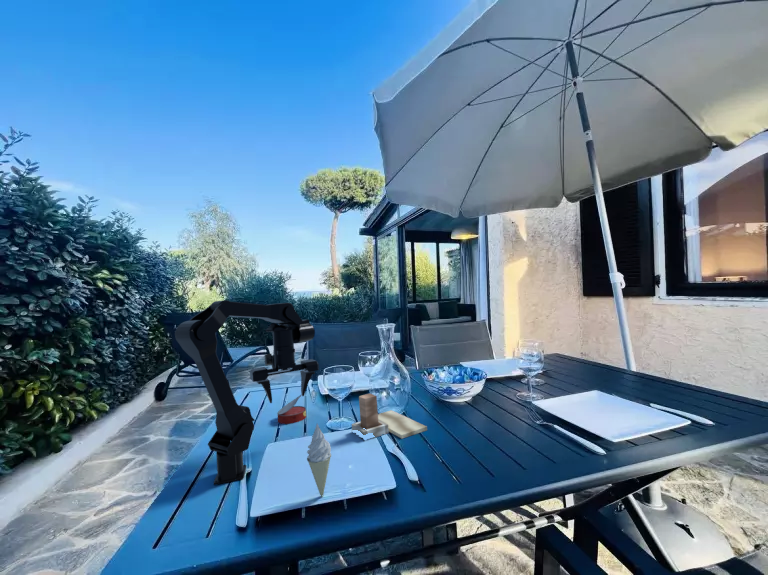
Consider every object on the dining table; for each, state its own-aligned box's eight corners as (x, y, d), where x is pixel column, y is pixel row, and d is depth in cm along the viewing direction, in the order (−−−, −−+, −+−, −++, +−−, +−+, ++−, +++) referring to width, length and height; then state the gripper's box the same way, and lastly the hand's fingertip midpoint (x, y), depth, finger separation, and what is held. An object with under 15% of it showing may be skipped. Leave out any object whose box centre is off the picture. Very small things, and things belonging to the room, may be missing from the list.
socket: (374, 448, 89) (373, 438, 89) (344, 426, 106) (343, 418, 106) (427, 430, 98) (426, 421, 98) (391, 413, 115) (391, 405, 115)
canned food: (296, 436, 113) (286, 416, 109) (276, 429, 118) (265, 409, 114) (316, 411, 121) (308, 391, 117) (296, 406, 126) (287, 386, 122)
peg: (367, 436, 97) (364, 399, 97) (361, 432, 100) (358, 396, 100) (379, 433, 99) (376, 396, 99) (372, 429, 102) (370, 393, 103)
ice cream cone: (335, 488, 71) (330, 417, 71) (332, 502, 66) (327, 426, 66) (312, 490, 71) (307, 419, 71) (307, 504, 66) (302, 428, 66)
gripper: (306, 339, 108) (309, 387, 107) (245, 347, 98) (248, 400, 98) (317, 342, 98) (321, 394, 98) (251, 351, 89) (255, 409, 88)
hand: (287, 399), depth 96 cm, fingers open, 9 cm apart
